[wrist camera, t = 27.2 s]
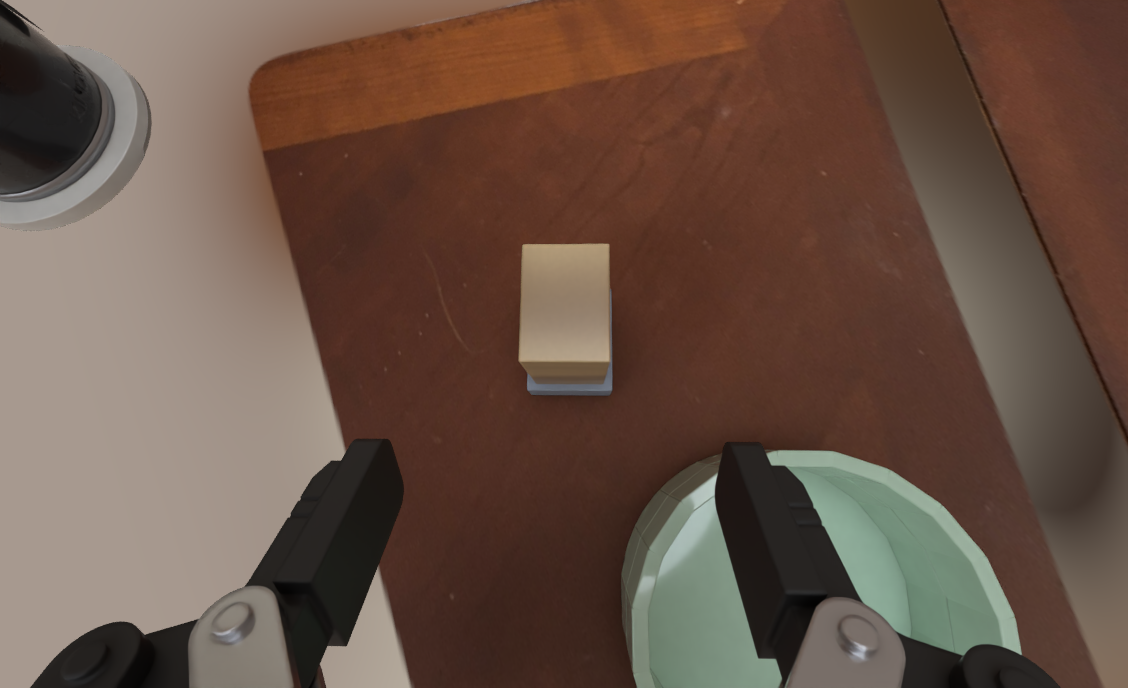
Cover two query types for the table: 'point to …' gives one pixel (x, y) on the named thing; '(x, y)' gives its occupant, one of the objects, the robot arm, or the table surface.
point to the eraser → (566, 319)
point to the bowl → (863, 542)
